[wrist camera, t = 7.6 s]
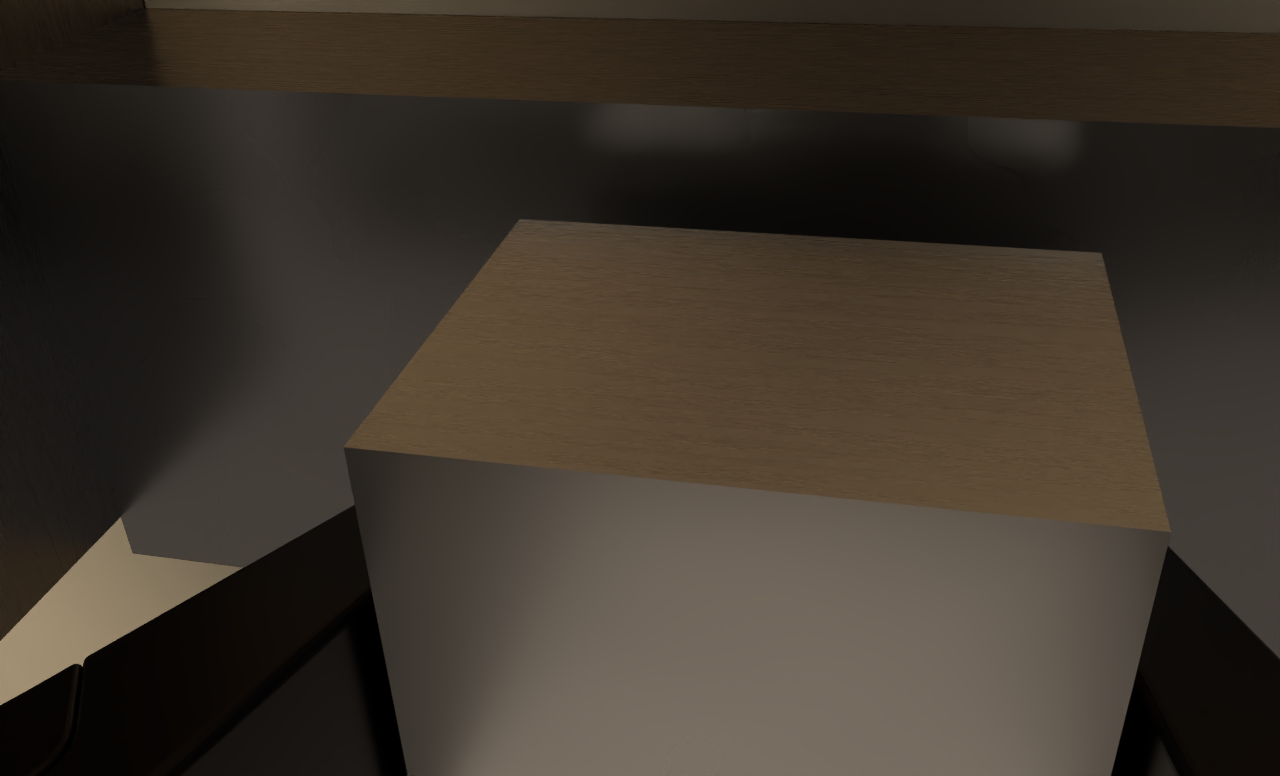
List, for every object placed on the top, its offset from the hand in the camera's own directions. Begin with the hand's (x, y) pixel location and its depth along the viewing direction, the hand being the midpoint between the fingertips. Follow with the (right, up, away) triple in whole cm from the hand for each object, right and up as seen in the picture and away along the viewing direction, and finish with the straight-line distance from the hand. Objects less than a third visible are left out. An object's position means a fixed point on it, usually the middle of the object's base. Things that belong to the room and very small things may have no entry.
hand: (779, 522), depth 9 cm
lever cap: (0, 0, 0) cm, 0 cm away
